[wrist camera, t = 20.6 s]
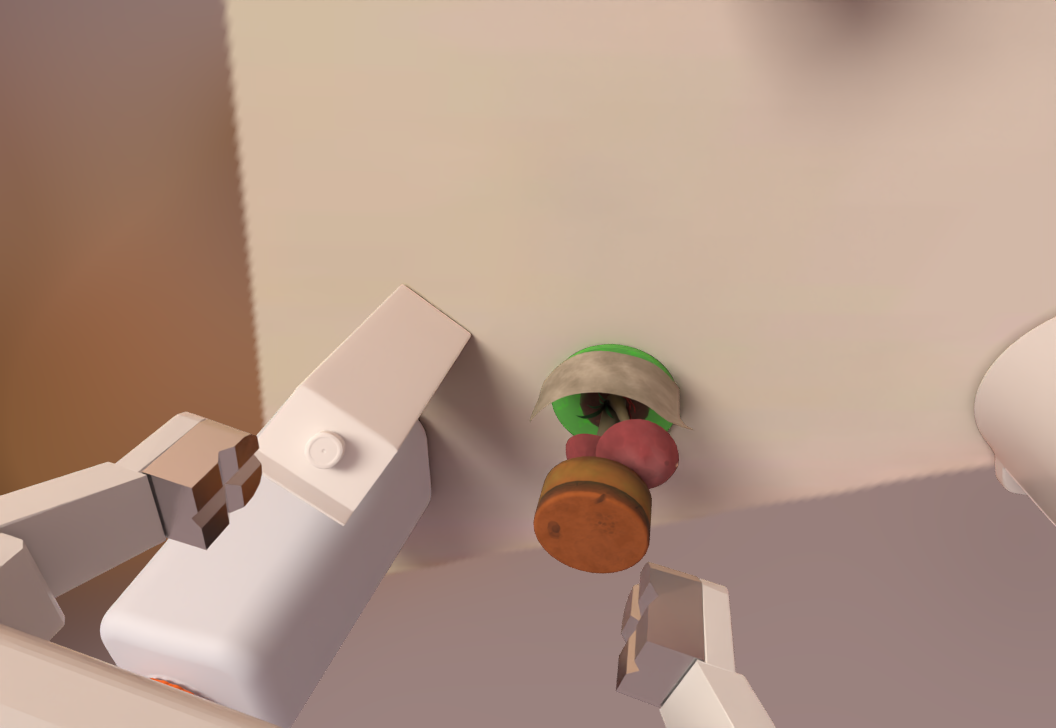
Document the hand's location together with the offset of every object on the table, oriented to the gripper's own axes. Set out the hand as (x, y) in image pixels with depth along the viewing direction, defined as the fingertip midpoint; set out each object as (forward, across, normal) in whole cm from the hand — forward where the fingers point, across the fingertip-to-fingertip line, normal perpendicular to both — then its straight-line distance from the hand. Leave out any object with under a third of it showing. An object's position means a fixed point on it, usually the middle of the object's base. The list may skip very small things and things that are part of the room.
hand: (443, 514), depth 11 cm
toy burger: (+31, -6, +18) cm, 37 cm away
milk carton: (+31, +12, +18) cm, 38 cm away
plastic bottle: (+31, +17, +34) cm, 49 cm away
